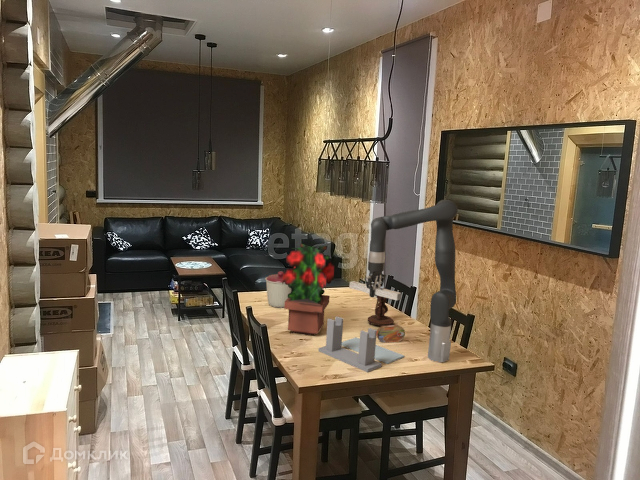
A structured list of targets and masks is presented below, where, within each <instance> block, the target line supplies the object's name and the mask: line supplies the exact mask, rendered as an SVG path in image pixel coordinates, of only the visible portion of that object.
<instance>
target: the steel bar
mask: <svg viewBox="0 0 640 480" xmlns="http://www.w3.org/2000/svg"><path fill="white" fill-rule="evenodd" d="M348 286H349V289H352V290H356V291H359V292H363V293H367V294H370V289H368V288H367V286H366V283H363V282H359V281H358V282H357V281H354V280H353V281H349V285H348ZM372 287H373V285H372ZM383 288H384V287H380V288H379V287H375V289H374V290H375V291H374V296H375V295H378V296H382V297H386V299H390V300H394V301H400V300H402V292H398V291H395V290H392V289H388V288H386V289H383ZM387 289H388V290H387Z"/></svg>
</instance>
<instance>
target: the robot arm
mask: <svg viewBox="0 0 640 480" xmlns="http://www.w3.org/2000/svg"><path fill="white" fill-rule="evenodd" d="M457 214H458V206H457V204H456V203H455V202H454V201H452V200H450V199H441V200H439V201H438V202H437V203H436V204H435V205H433V206H429V207H426V208H421V209H415V210H414V209H413V210H408V211H407V210H406V211H403V212H398V213H394V214H391V215H384V216H379V217H375V218H373V219H372V221H371V222H370V228H371V230H370V243H369V253H368V261H367V262H368V263H367V270H368V271H369V273H368V276H367V277H366V276H365V277H364V282H365V284H366V286H367V288H368V289H370V293H369V297H370V298H372V299H373V298H375V297H377V296H378V295H374V291H375V290H374V289H375V287H379V288H383V286H384V284H385V280H386V274H384V273H383V272H384V270H385V260H386V259H385V257H386V256H385V255H386V254H385V252H386V236H387V235H386V234H387V231H389V230H400V229H404V228H409V227H413V226H416V225H420V224H423V223H428V222H434V221H435V223H436V224H435V226H436V235H435V245H434V246H435V247H434V264H435V267H436V270H437V272H438V275H439V283H440V284H439V291H435V292H434V293H433V294H432V295H431V300H430V310H429V316H430V329H429V337H428V338H429V340H428V351H427V359H429V360H430V361H432V360H433V361H432V362H435V361H438V362H437V363H441V362H443V363H446V362H448V361H449V360H450V355H451V346H452V341H451V340H450V338H451V330H452V319H451V318H450V316H449V315H450V314H449V313H450V309H452V308H453V307H454V306H455V305H456V303H457V291H456V289H457V287H456V243H455V238H454V232H453V231H454V230H453V225H454V224H453V223H454V219H455V217H456V216H457ZM372 286H373V287H372ZM447 360H448V361H447ZM445 361H446V362H445Z"/></svg>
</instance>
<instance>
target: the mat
mask: <svg viewBox="0 0 640 480" xmlns="http://www.w3.org/2000/svg"><path fill="white" fill-rule="evenodd" d="M359 344H360V337H356V336H355V337H353V338H350V339H347V340H344V341H343V340H342V346H341V347H343V348H346V349H348V350H351V351H353V352H356V353H359ZM403 358H405V354H402V353H399V352H396V351H393V350H391V349H388V348H385V347H383V346H380V345H378V344H376V347H375V359H374V360H375V361H378V362H379V361H380V363H381V362H382V363H384V364H386V365H388V364H391V363H394V362H395V361H398V359H399V360H401V359H403Z"/></svg>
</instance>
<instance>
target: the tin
mask: <svg viewBox="0 0 640 480" xmlns="http://www.w3.org/2000/svg"><path fill="white" fill-rule="evenodd" d="M376 330H377V335H376V339H377V340H378V341H379V342H380V343H382V344H384V343H385V344H387V343H389V344H390V343H399V342H401V341H403V339H404V338H405V337H406V330H405V329H404V327H403V326H400V325H398V324H396V325H394V324H392V325H389V326H380V327H379V328H378V329H376Z"/></svg>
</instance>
